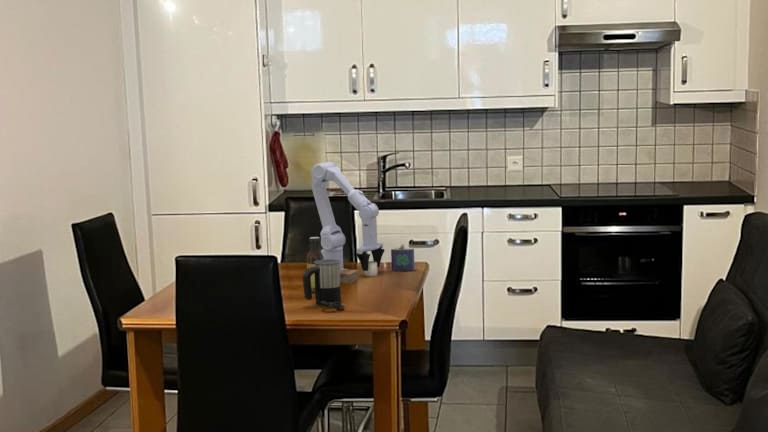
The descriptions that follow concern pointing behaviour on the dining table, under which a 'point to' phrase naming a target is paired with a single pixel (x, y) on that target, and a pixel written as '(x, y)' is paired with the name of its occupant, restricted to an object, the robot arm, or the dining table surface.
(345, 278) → the block
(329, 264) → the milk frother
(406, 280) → the dining table surface
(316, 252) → the sauce bottle
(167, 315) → the dining table surface
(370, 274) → the cup
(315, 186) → the robot arm
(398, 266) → the flask
